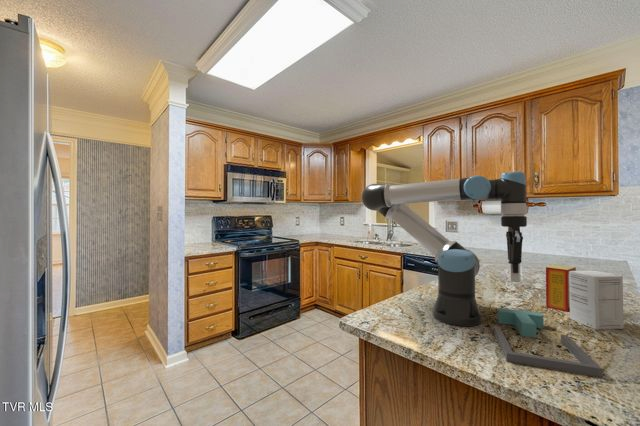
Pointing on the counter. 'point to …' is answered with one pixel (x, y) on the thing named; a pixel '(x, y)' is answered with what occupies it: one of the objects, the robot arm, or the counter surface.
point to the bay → (584, 367)
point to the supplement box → (596, 299)
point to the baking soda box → (558, 287)
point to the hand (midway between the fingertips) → (514, 281)
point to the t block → (521, 320)
